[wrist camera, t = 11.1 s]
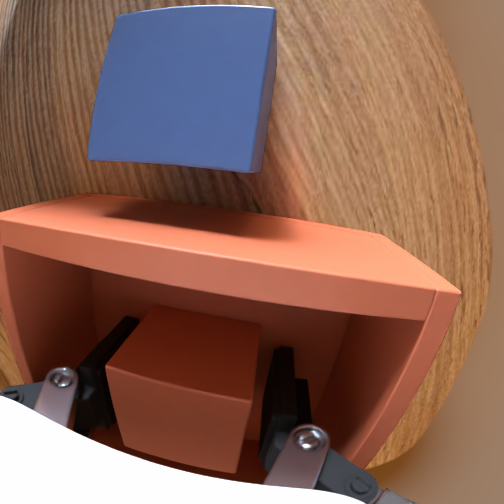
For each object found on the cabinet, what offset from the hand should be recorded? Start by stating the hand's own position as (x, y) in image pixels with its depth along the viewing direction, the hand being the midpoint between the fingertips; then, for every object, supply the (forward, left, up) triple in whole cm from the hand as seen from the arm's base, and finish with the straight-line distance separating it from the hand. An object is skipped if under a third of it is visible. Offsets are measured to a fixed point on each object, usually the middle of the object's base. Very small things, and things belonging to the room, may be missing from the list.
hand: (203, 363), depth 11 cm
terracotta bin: (0, 0, -1) cm, 1 cm away
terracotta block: (0, 0, -1) cm, 1 cm away
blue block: (+1, -10, -1) cm, 10 cm away
